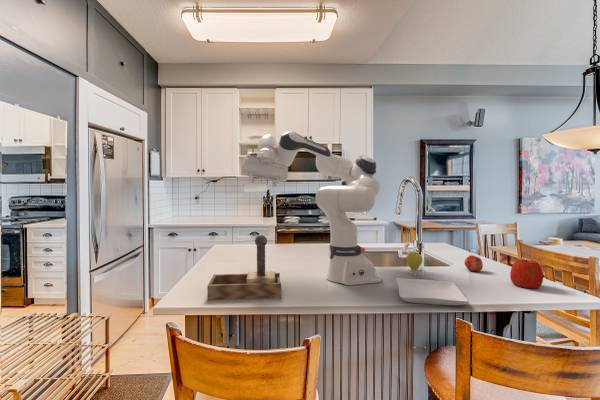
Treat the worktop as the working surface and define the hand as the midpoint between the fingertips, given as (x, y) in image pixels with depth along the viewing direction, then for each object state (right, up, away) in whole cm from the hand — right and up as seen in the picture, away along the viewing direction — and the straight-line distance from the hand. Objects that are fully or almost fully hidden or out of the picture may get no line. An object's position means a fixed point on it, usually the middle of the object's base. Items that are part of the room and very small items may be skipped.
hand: (263, 184), depth 141 cm
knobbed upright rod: (+1, -39, -19) cm, 44 cm away
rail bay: (-4, -41, -20) cm, 45 cm away
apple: (+104, -41, -11) cm, 112 cm away
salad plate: (+61, -42, -23) cm, 77 cm away
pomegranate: (+95, -39, +11) cm, 103 cm away
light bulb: (+65, -40, +4) cm, 77 cm away
